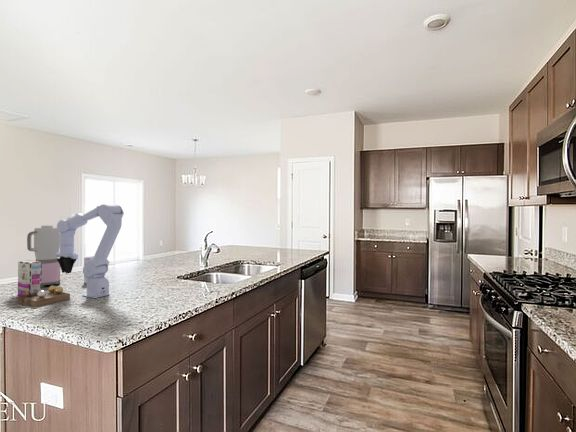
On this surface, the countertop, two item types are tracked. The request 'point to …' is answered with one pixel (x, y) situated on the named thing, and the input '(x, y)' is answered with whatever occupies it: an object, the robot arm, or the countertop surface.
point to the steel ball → (41, 294)
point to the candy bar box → (29, 277)
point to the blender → (46, 252)
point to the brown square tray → (36, 301)
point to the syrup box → (85, 264)
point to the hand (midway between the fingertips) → (66, 272)
